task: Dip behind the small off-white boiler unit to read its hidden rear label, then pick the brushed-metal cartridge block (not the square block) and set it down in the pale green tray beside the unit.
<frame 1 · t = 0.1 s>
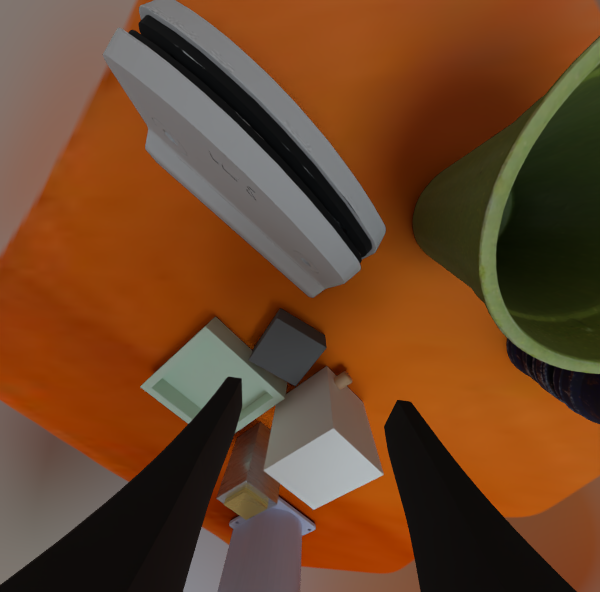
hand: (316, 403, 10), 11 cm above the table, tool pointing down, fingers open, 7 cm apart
plant pot: (456, 217, 17), on the table
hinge: (268, 197, 18), on the table
square block: (289, 339, 22), on the table
cartridge: (260, 439, 26), on the table
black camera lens: (562, 332, 20), on the table
boiler unit: (319, 401, 23), on the table
tray: (220, 377, 23), on the table
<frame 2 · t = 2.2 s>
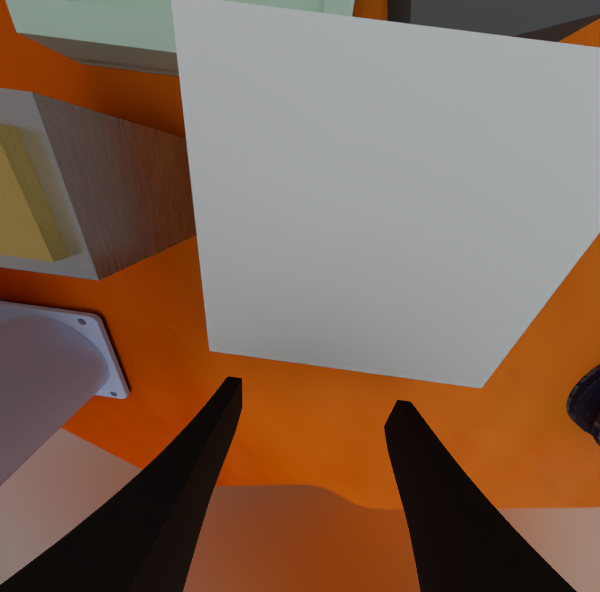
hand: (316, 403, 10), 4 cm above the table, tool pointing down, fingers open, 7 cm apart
cartridge: (154, 185, 10), on the table
boiler unit: (342, 210, 10), on the table
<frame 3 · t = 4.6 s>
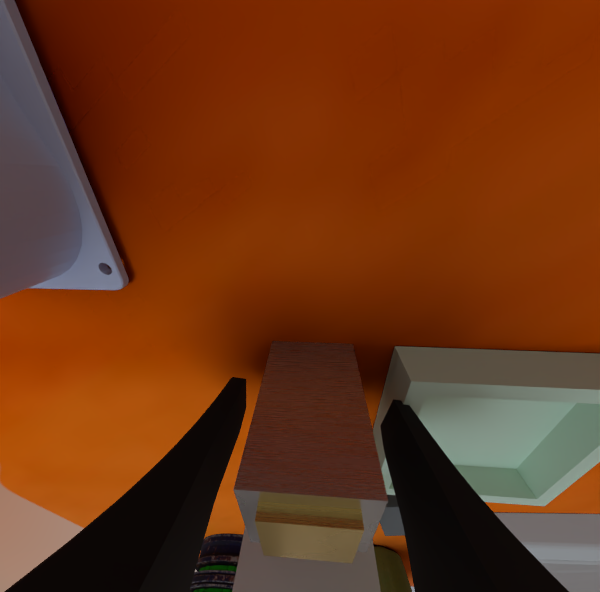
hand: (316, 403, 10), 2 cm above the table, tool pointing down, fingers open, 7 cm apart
plant pot: (366, 551, 25), on the table
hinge: (506, 525, 20), on the table
square block: (404, 477, 17), on the table
cartridge: (311, 370, 12), on the table
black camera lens: (242, 545, 27), on the table
boiler unit: (309, 459, 16), on the table
tray: (465, 415, 13), on the table
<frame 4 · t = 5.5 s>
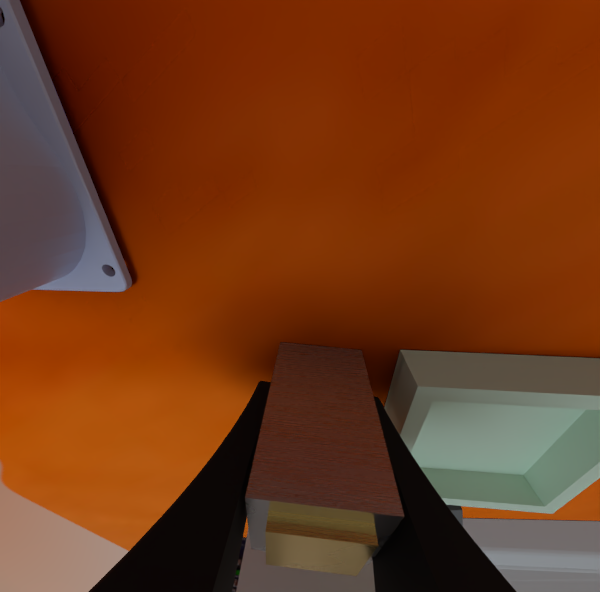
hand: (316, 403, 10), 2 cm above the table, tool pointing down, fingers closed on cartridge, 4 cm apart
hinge: (513, 531, 20), on the table
cartridge: (316, 374, 12), on the table, touching gripper
boiler unit: (311, 462, 16), on the table
tray: (471, 420, 13), on the table
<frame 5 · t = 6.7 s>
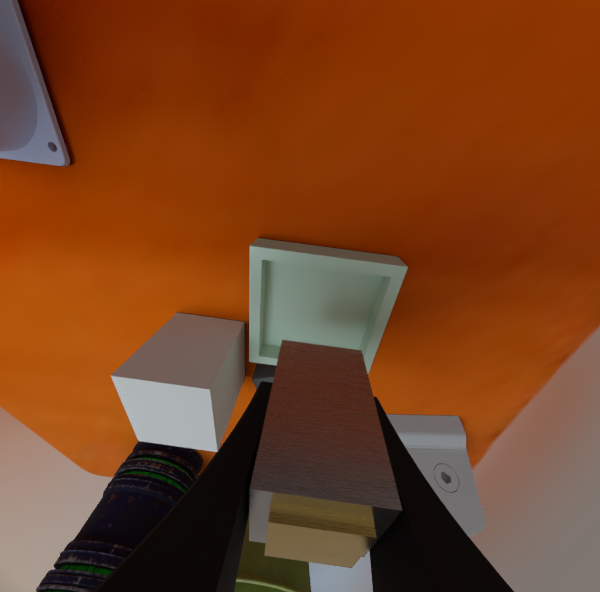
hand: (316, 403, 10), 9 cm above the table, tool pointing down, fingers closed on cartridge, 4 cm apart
plant pot: (274, 462, 31), on the table
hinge: (376, 431, 26), on the table
square block: (289, 373, 22), on the table
cartridge: (315, 373, 12), point 7 cm above the table, touching gripper
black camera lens: (170, 454, 32), on the table
boiler unit: (213, 347, 21), on the table
tray: (316, 306, 18), on the table
when the fingers open (3 cm above the table, at t = 8.0 s): cartridge stays where it is, resting on tray.
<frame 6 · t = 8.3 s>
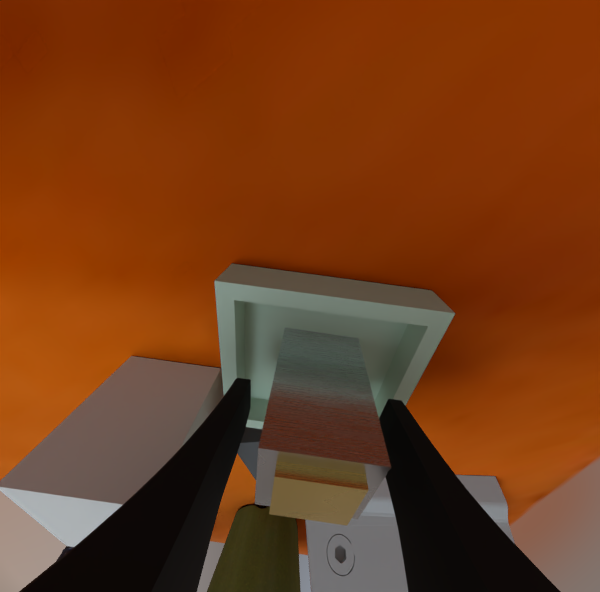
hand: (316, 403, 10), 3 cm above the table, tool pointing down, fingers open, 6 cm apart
plant pot: (266, 513, 26), on the table
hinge: (390, 488, 21), on the table
square block: (282, 426, 18), on the table
cartridge: (315, 360, 13), point 1 cm above the table, touching tray
boiler unit: (183, 396, 16), on the table
tray: (316, 352, 13), on the table
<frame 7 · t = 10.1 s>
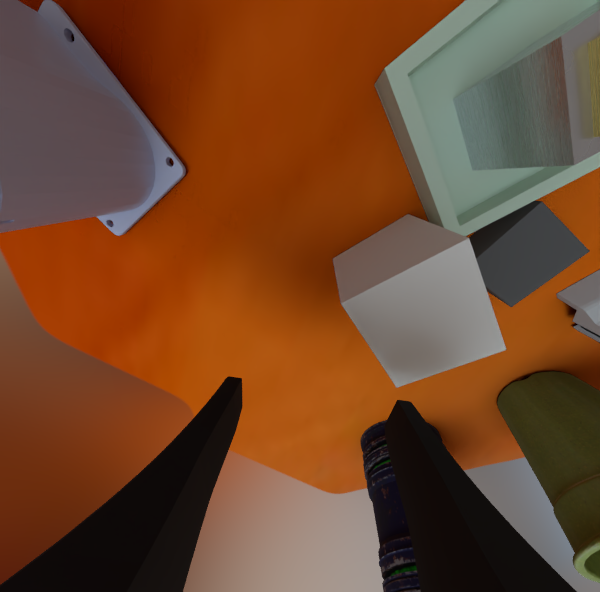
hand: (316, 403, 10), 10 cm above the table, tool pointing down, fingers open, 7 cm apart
plant pot: (532, 392, 23), on the table
square block: (496, 249, 16), on the table
cartridge: (502, 111, 12), point 1 cm above the table, touching tray
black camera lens: (398, 440, 28), on the table
boiler unit: (387, 274, 17), on the table
tray: (495, 113, 12), on the table
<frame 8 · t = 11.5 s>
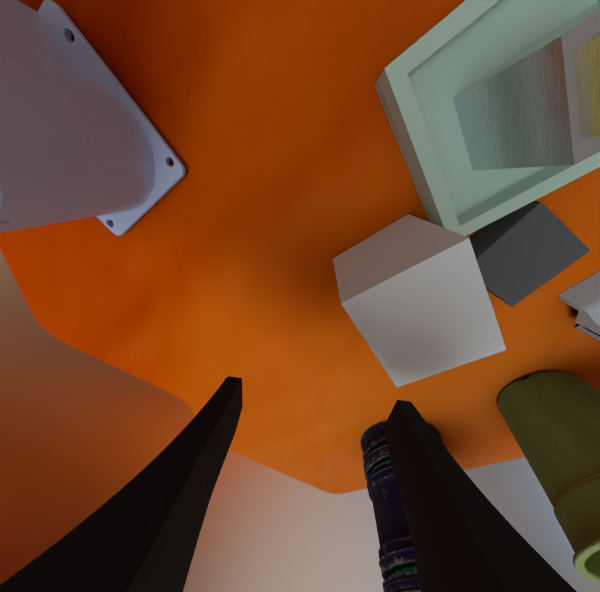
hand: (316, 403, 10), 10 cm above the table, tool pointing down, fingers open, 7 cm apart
plant pot: (532, 392, 23), on the table
square block: (496, 249, 16), on the table
cartridge: (502, 111, 12), point 1 cm above the table, touching tray
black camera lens: (398, 440, 28), on the table
boiler unit: (387, 274, 17), on the table
tray: (495, 113, 12), on the table
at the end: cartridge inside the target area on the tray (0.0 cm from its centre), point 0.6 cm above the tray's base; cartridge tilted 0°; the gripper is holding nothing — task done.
